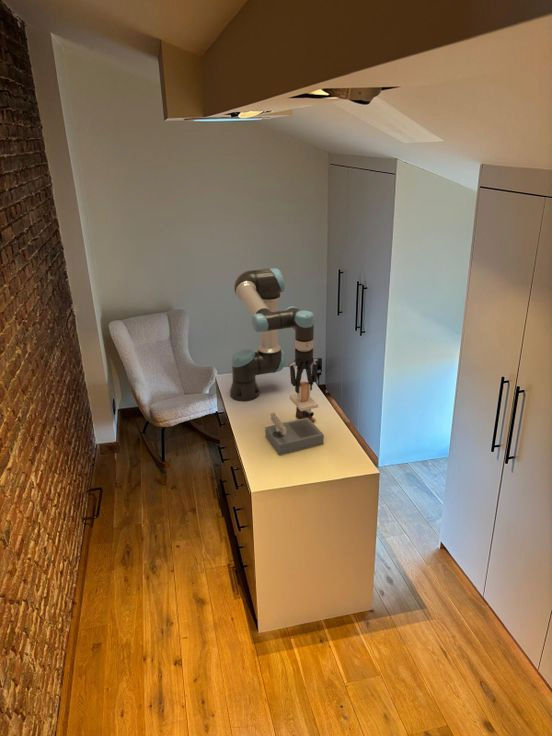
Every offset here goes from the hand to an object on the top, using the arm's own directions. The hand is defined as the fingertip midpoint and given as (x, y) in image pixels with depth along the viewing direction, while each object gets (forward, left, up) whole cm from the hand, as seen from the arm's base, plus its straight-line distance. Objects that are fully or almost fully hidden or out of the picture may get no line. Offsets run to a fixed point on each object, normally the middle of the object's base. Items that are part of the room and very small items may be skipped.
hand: (303, 397), depth 235 cm
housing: (0, -5, -20) cm, 21 cm away
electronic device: (-14, +8, -21) cm, 26 cm away
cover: (0, 0, -2) cm, 2 cm away
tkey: (0, -12, -15) cm, 20 cm away
